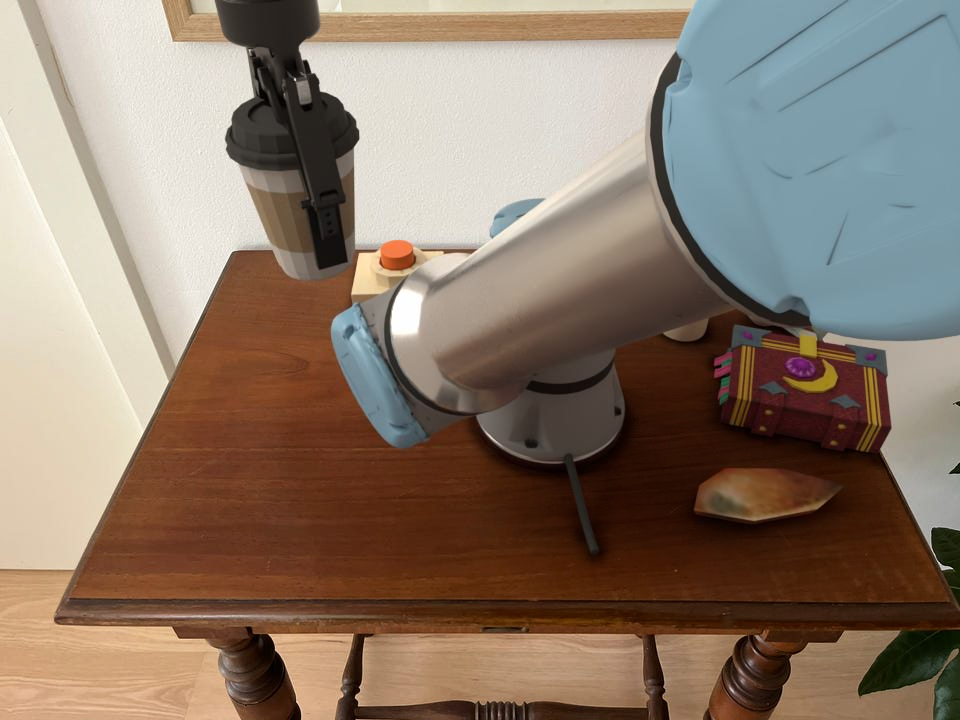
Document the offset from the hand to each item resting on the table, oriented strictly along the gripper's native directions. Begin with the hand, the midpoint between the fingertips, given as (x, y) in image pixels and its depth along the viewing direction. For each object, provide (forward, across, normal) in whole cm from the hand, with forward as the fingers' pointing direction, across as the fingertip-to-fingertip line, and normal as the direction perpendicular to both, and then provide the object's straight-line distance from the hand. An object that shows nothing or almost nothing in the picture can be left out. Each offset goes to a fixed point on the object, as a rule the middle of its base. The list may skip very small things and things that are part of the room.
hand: (312, 232), depth 68 cm
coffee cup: (+3, 0, 0) cm, 3 cm away
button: (+14, -12, +12) cm, 22 cm away
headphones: (+16, +3, +46) cm, 48 cm away
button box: (+18, -12, +12) cm, 24 cm away
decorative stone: (+15, +35, +29) cm, 48 cm away
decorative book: (+18, +27, +40) cm, 52 cm away
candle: (+18, +12, +38) cm, 44 cm away
